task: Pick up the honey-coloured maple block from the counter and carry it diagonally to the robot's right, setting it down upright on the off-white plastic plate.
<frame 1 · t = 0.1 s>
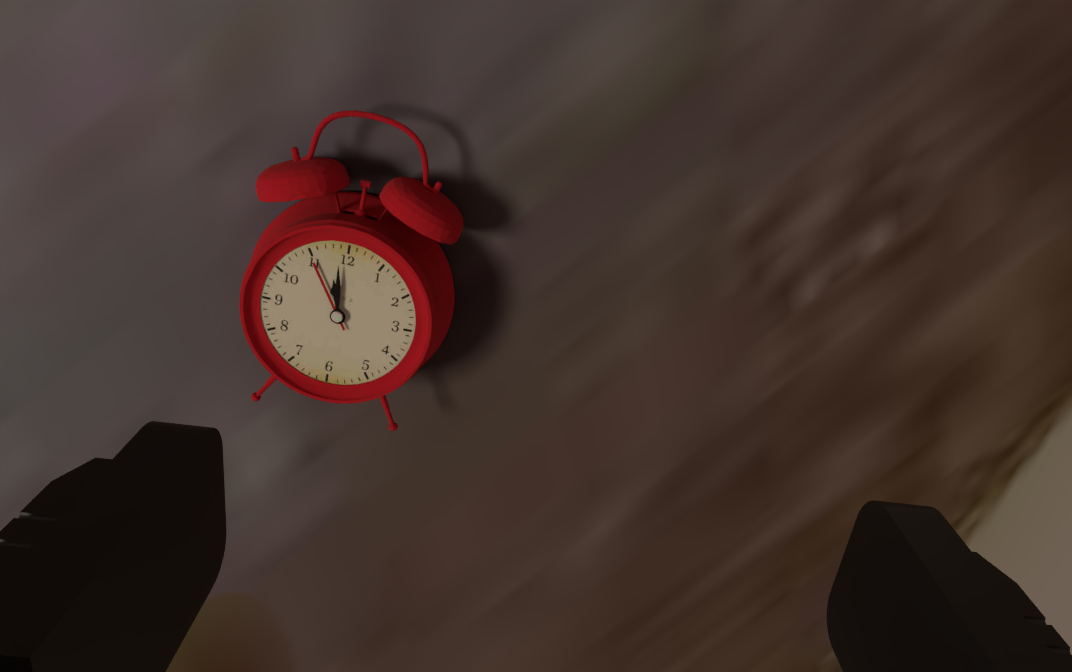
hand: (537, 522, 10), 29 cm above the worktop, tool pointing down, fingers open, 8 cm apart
alarm clock: (360, 257, 39), on the worktop
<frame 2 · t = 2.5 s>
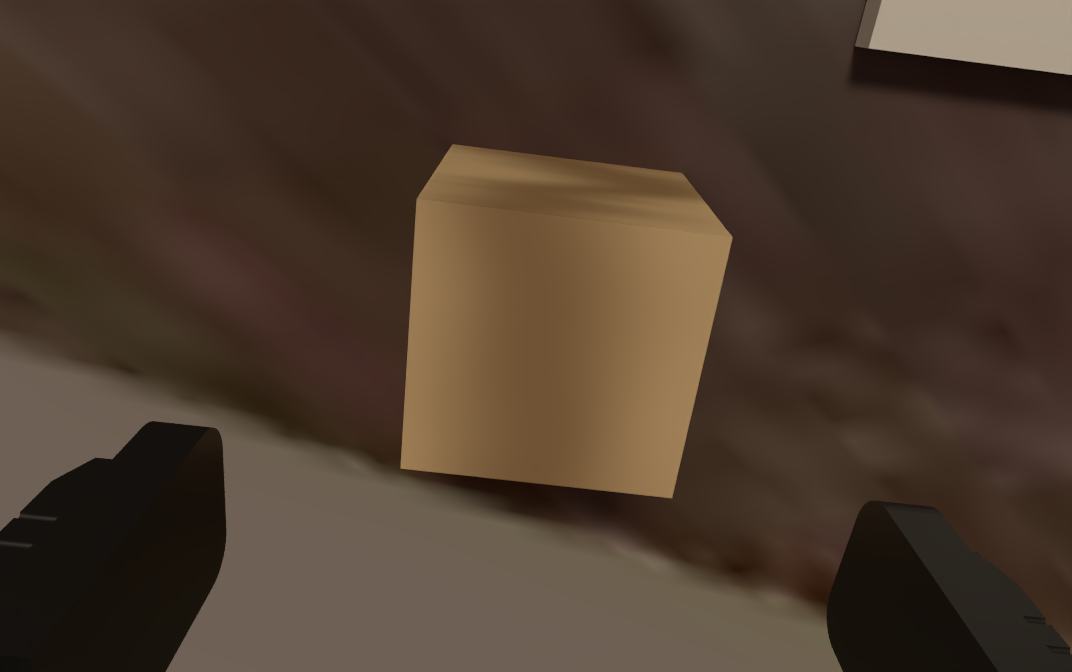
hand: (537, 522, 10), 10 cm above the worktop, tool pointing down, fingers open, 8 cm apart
maple block: (552, 267, 19), on the worktop
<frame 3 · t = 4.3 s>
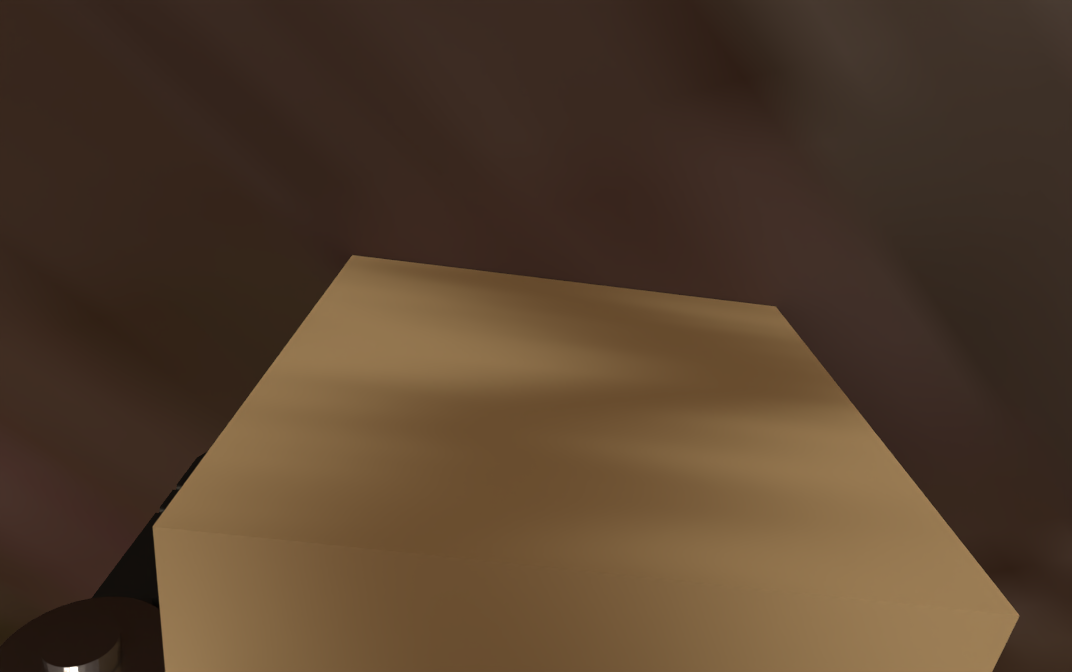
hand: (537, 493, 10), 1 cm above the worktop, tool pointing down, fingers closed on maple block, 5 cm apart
maple block: (539, 461, 11), on the worktop, touching gripper
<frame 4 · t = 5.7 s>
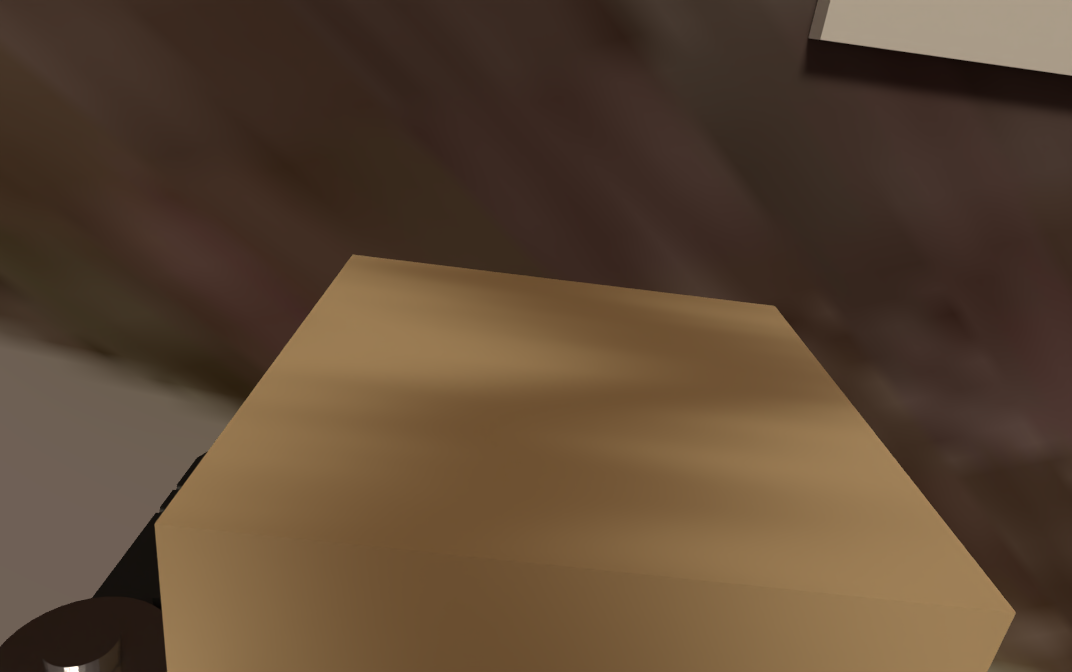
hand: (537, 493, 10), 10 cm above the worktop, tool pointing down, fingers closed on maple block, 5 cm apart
maple block: (539, 460, 11), point 10 cm above the worktop, touching gripper
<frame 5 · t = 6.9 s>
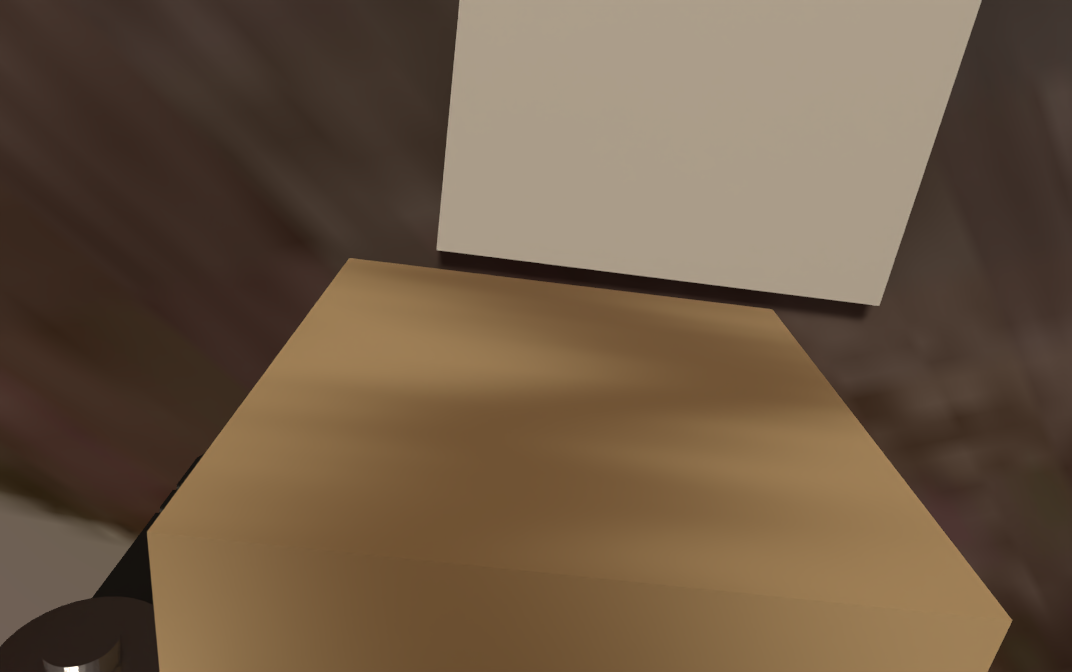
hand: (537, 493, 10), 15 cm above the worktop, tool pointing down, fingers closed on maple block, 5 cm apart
maple block: (536, 464, 11), point 14 cm above the worktop, touching gripper
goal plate: (700, 73, 22), on the worktop
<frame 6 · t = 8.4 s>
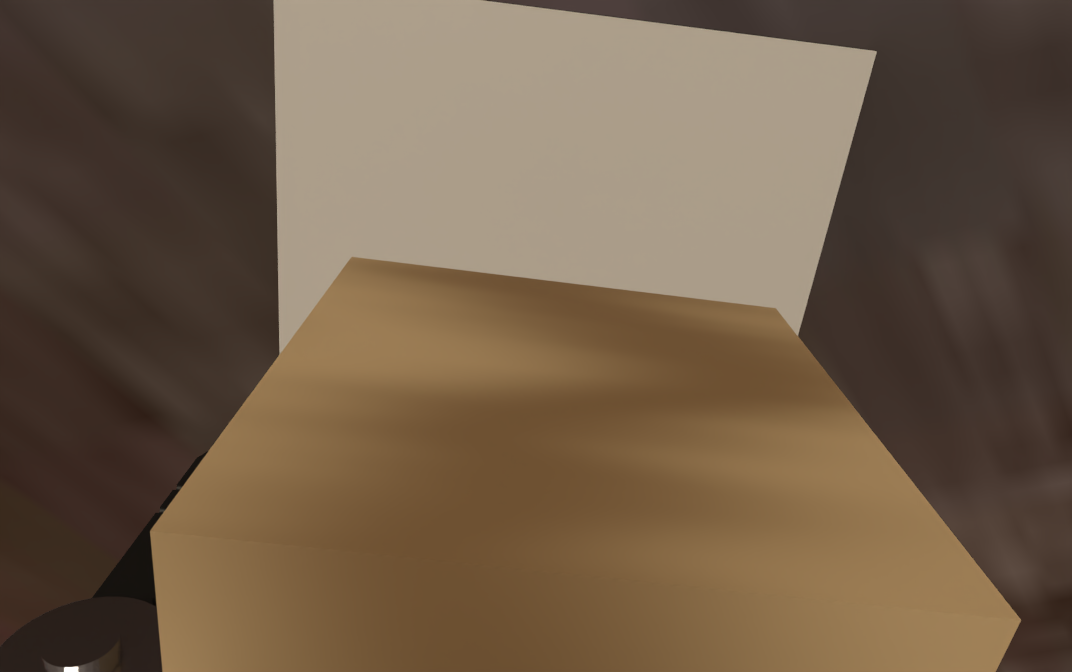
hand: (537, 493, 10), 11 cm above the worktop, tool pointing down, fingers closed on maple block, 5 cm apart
maple block: (539, 463, 11), point 11 cm above the worktop, touching gripper
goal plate: (547, 251, 21), on the worktop
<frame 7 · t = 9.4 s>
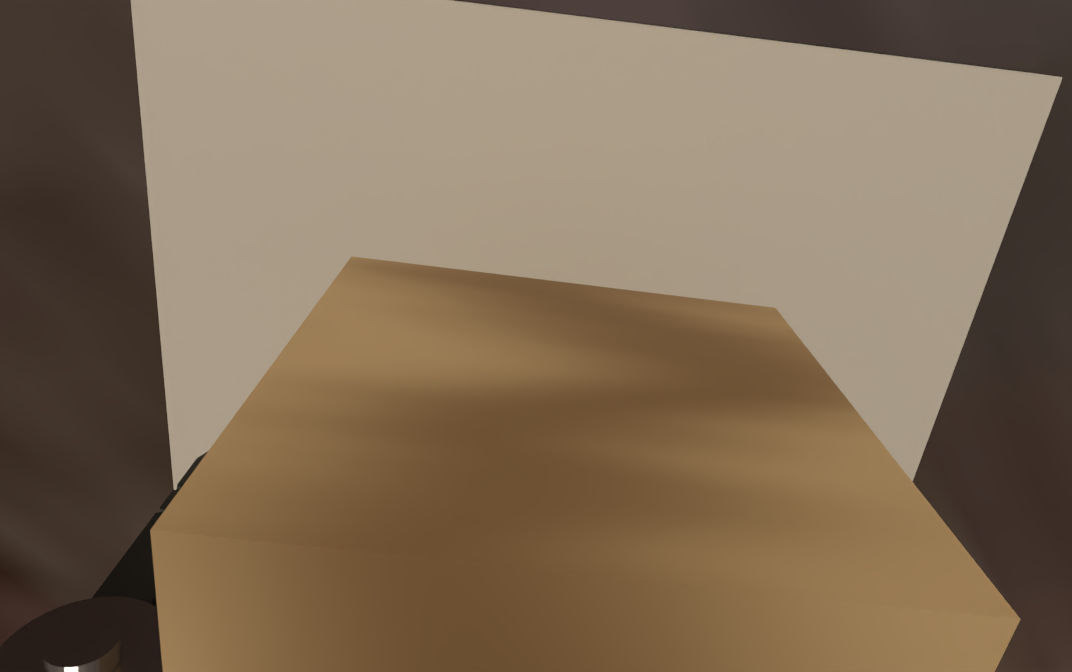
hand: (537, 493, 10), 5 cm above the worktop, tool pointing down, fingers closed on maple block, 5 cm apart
maple block: (538, 463, 11), point 4 cm above the worktop, touching gripper
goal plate: (554, 360, 14), on the worktop
when the fingers open (3 cm above the worktop, at t = 10.7 s): maple block drops 1 cm, resting on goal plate.
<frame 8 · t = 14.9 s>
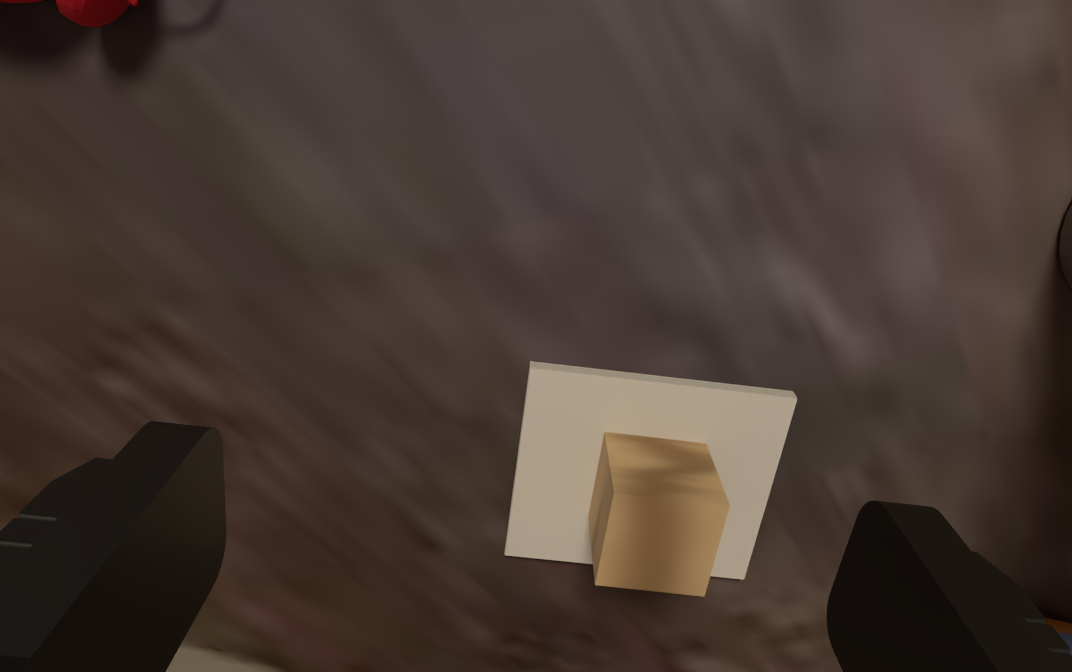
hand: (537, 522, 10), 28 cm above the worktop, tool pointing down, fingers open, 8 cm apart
maple block: (645, 480, 42), point 1 cm above the worktop, touching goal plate
doughnut: (1009, 663, 49), on the worktop
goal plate: (642, 472, 43), on the worktop
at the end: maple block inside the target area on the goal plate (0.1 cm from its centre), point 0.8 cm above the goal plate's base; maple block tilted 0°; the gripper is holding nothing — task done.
